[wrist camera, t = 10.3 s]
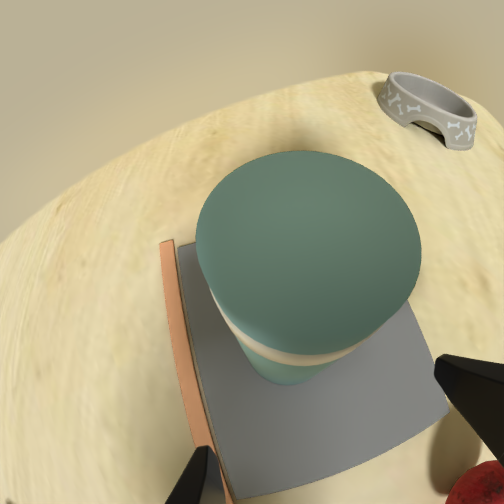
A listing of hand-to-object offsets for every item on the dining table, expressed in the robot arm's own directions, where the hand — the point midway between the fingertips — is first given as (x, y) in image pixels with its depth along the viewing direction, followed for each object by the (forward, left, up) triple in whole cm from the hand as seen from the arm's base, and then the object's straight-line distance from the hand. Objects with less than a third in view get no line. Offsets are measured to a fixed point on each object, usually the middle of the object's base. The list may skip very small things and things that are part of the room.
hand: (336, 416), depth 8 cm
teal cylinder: (+3, +3, -8) cm, 10 cm away
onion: (-2, -16, -9) cm, 18 cm away
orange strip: (-2, +8, -9) cm, 12 cm away
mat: (+5, +2, -9) cm, 10 cm away
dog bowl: (+45, -2, -9) cm, 46 cm away
